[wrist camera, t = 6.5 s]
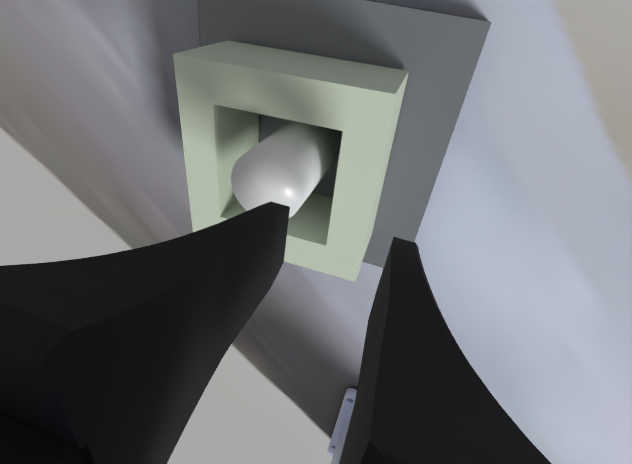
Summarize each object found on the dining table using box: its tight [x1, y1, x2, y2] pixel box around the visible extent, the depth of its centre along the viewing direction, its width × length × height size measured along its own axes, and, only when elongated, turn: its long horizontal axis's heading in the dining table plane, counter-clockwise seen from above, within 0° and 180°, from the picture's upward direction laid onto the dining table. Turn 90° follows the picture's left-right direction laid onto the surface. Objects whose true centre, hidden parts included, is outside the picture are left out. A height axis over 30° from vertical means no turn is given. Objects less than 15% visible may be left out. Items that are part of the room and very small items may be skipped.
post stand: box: [198, 0, 491, 268], centre depth 16 cm, size 12×12×6 cm
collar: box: [173, 41, 409, 282], centre depth 16 cm, size 8×8×4 cm
